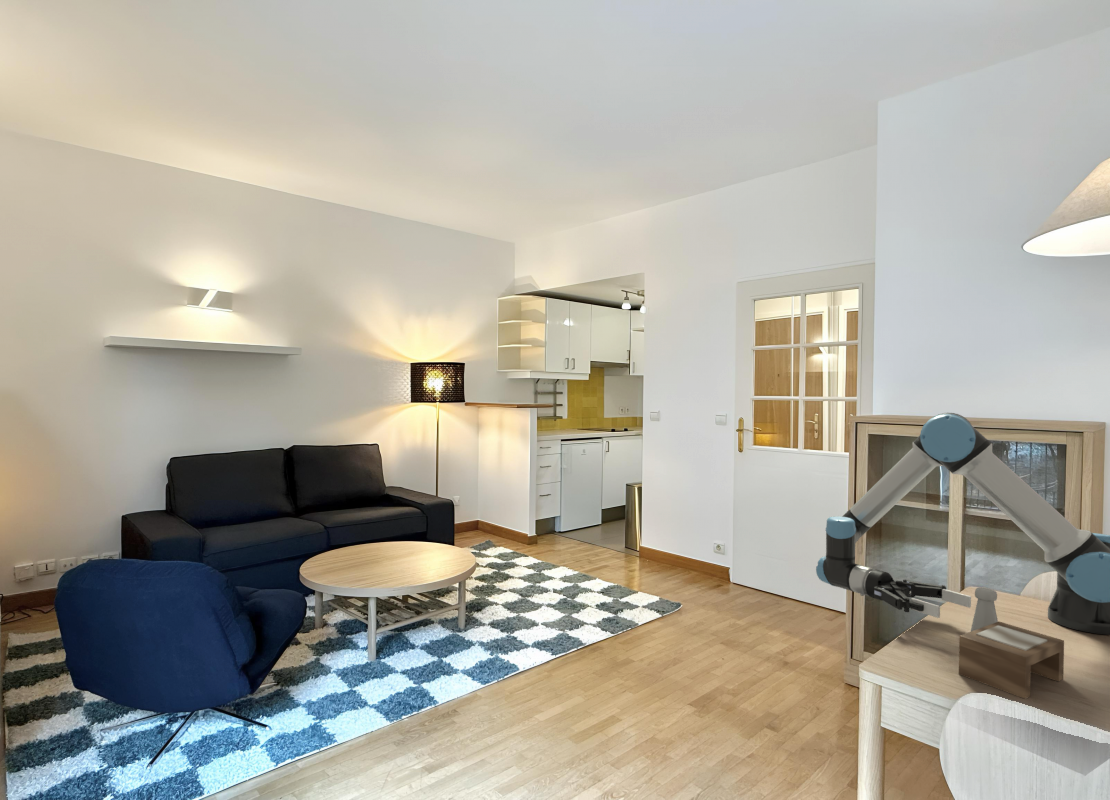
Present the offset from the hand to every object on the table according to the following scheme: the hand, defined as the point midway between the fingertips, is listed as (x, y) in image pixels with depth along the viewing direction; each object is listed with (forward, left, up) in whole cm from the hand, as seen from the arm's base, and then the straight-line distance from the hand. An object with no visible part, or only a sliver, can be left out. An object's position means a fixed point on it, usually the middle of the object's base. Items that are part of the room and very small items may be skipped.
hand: (955, 606), depth 151 cm
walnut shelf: (+13, +18, -7) cm, 23 cm away
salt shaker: (0, +7, -7) cm, 10 cm away
